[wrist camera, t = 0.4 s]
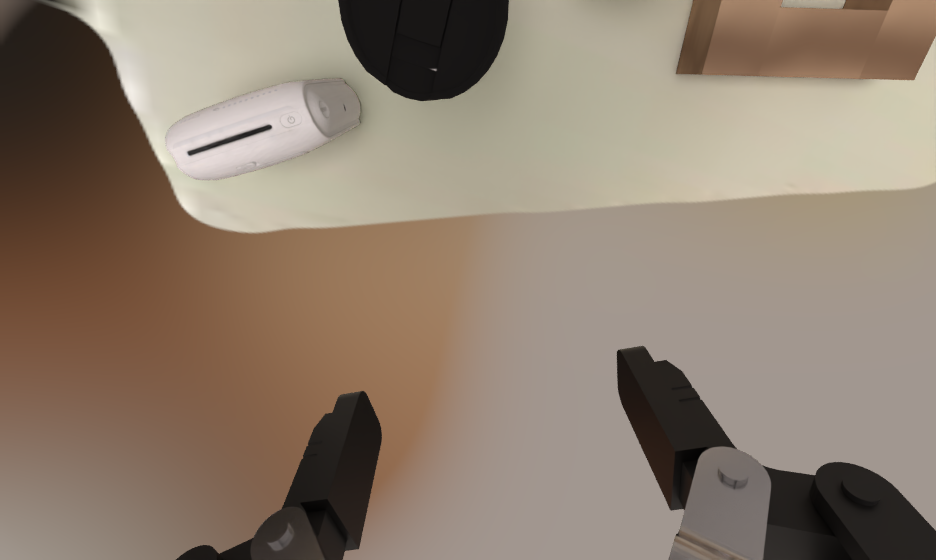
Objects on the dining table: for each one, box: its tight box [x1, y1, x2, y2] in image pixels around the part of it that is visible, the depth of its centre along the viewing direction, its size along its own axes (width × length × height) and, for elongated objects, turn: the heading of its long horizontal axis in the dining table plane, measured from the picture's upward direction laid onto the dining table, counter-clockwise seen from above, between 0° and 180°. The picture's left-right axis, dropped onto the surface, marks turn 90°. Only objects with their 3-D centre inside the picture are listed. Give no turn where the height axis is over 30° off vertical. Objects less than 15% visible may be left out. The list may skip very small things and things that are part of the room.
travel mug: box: [338, 0, 509, 101], centre depth 23 cm, size 6×7×20 cm
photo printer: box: [165, 78, 360, 180], centre depth 29 cm, size 10×4×12 cm, turn 106°
